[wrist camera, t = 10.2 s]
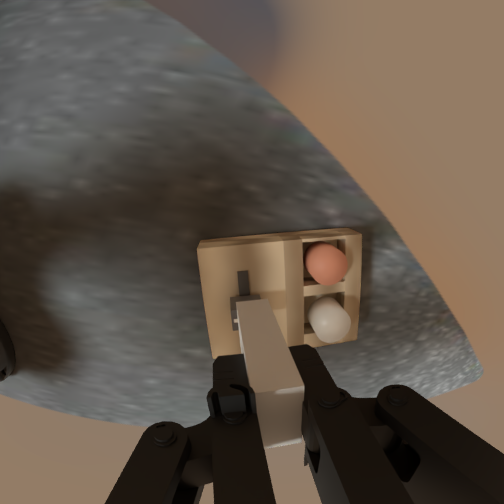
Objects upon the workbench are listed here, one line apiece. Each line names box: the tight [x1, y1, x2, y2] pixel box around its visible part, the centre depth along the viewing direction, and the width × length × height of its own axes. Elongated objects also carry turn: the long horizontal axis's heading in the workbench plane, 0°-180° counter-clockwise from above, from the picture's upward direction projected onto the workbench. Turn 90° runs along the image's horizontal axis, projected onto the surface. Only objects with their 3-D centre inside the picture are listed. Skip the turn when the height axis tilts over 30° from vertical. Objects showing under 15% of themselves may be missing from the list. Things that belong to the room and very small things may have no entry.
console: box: [197, 227, 362, 359], centre depth 31 cm, size 16×12×4 cm
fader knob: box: [230, 294, 261, 331], centre depth 27 cm, size 3×2×3 cm
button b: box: [307, 297, 351, 343], centre depth 29 cm, size 4×4×3 cm
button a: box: [303, 241, 348, 286], centre depth 29 cm, size 4×4×3 cm
